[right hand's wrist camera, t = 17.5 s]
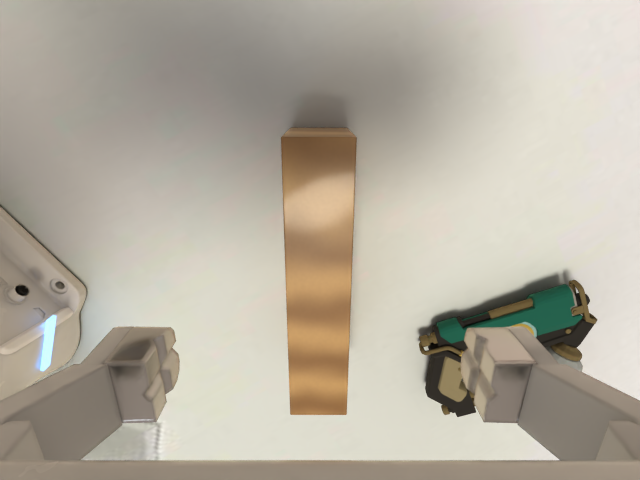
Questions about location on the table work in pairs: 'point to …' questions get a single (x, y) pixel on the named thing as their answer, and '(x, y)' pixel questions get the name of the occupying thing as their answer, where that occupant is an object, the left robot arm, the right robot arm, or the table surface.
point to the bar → (318, 264)
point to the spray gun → (533, 313)
